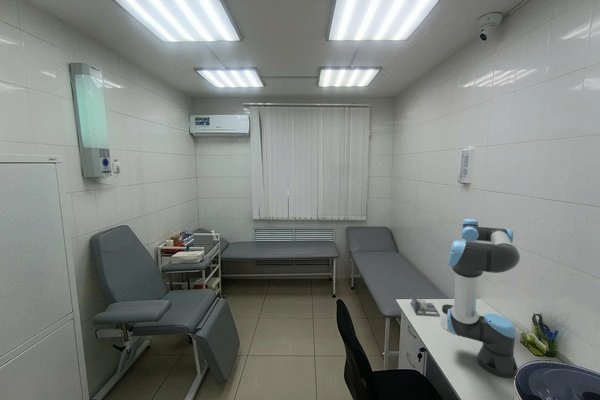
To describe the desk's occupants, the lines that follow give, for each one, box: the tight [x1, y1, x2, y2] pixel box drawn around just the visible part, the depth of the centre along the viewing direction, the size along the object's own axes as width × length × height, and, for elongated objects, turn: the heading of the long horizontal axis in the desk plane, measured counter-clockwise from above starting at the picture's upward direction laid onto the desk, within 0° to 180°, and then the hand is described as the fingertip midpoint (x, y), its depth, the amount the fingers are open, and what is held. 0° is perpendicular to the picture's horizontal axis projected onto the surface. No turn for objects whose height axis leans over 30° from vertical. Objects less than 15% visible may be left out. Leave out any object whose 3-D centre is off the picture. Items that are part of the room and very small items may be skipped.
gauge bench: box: [410, 295, 441, 317], centre depth 174 cm, size 14×14×7 cm
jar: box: [440, 304, 454, 332], centre depth 155 cm, size 9×8×12 cm
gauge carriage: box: [417, 298, 428, 312], centre depth 172 cm, size 8×4×4 cm, turn 171°
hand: (467, 284), depth 158 cm, fingers closed
